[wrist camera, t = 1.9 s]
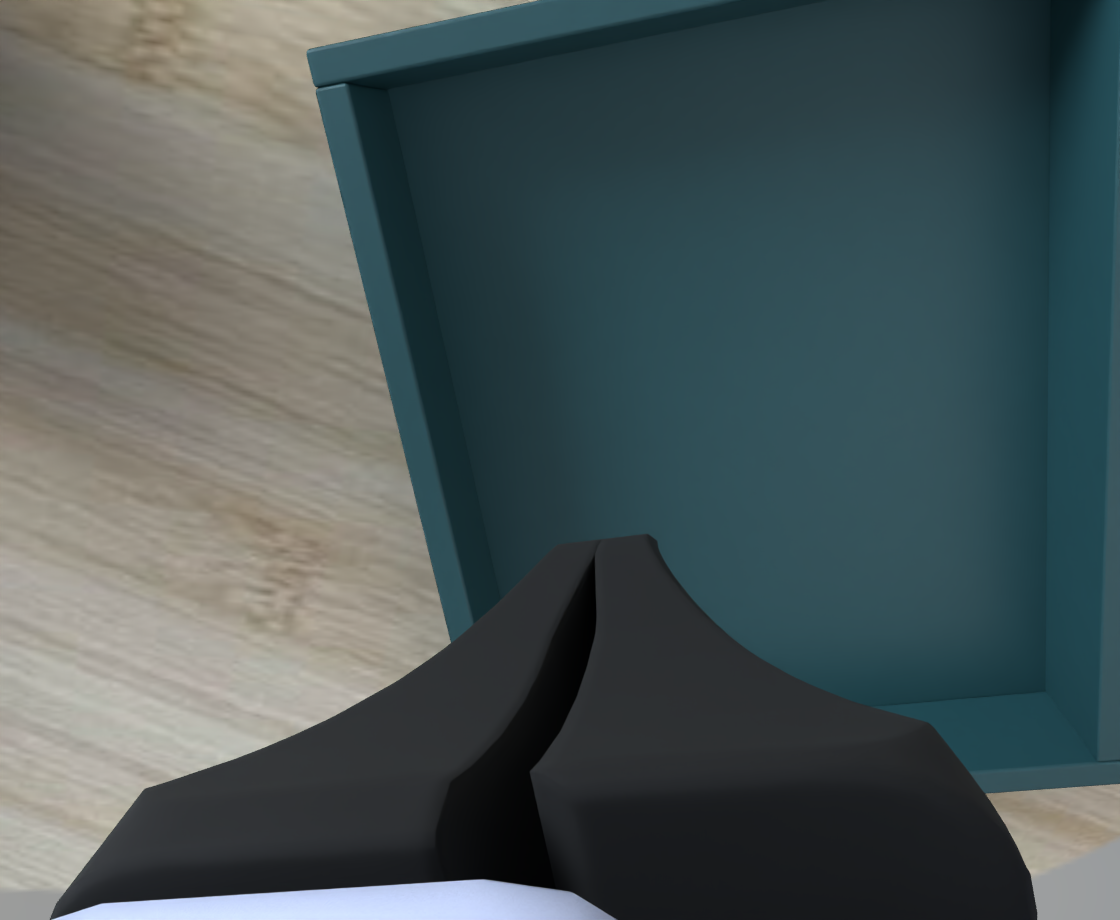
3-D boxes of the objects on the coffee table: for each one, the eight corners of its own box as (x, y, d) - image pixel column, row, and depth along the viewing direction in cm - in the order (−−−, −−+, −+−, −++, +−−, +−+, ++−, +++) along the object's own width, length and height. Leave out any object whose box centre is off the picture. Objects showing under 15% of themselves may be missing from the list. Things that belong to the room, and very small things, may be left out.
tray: (1062, 696, 21) (1128, 784, 18) (514, 743, 22) (496, 830, 20) (1075, -85, 15) (1169, -134, 13) (359, 63, 17) (303, 49, 14)
